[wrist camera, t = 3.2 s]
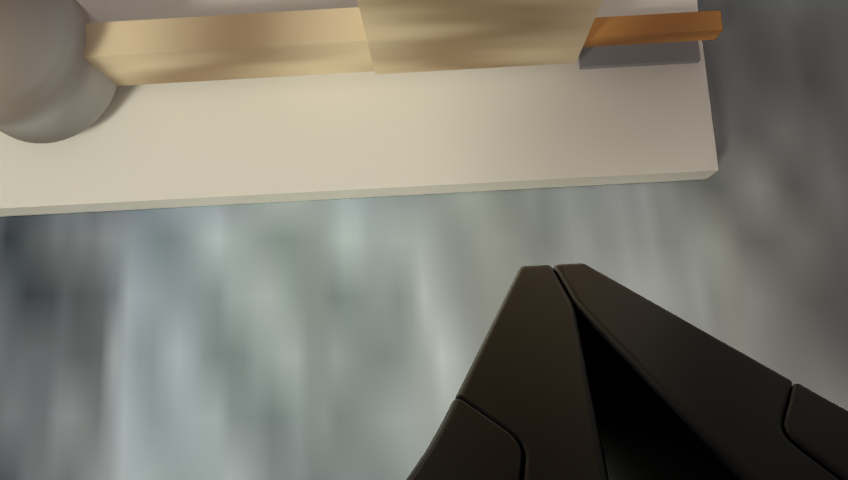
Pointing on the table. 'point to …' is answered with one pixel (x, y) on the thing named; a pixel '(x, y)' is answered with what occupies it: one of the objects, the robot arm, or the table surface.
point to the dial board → (375, 127)
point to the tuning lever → (288, 47)
